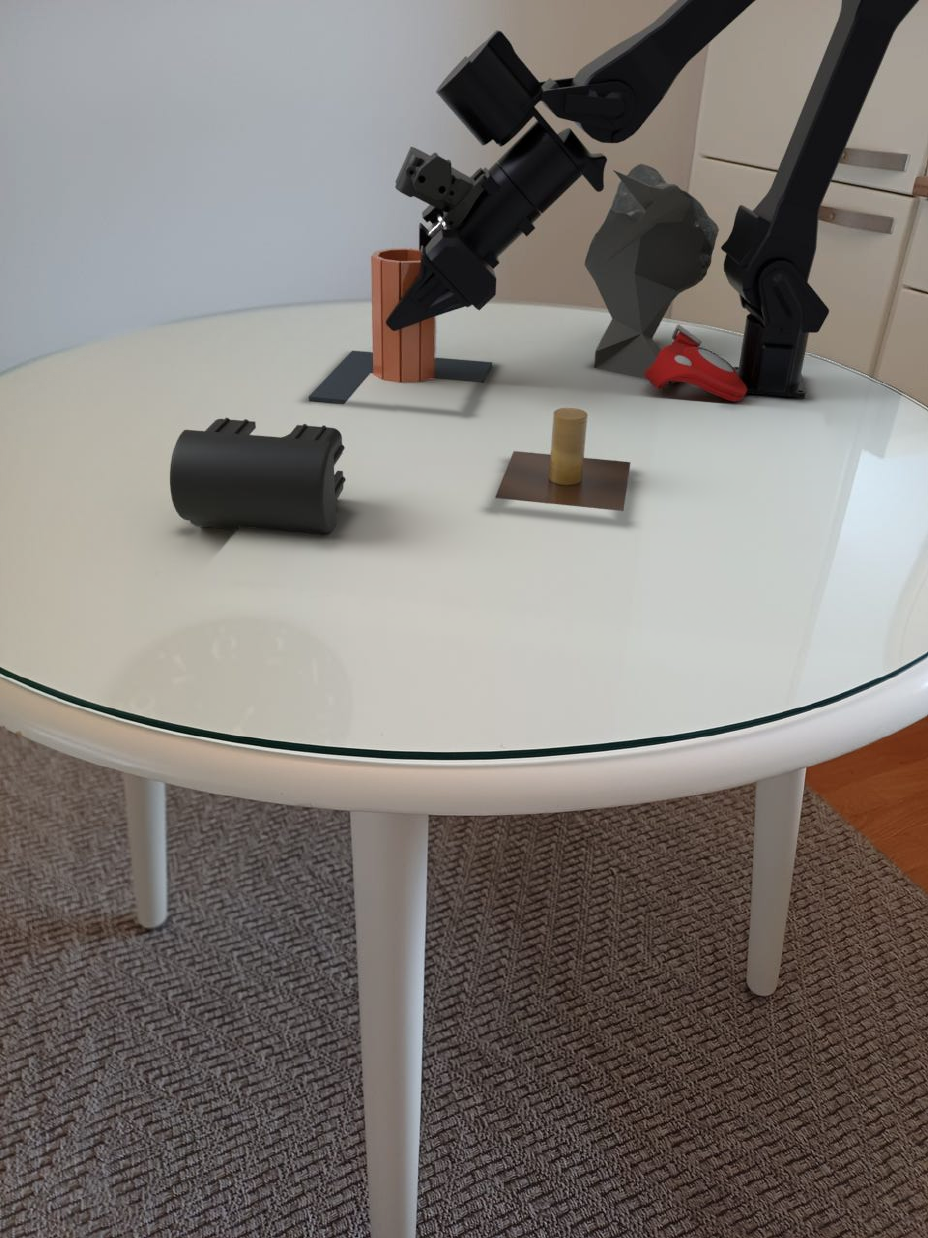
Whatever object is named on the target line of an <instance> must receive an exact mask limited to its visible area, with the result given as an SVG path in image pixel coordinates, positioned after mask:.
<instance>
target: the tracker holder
mask: <svg viewBox="0 0 928 1238" xmlns="http://www.w3.org/2000/svg"><path fill="white" fill-rule="evenodd" d="M671 339H672V340H673V342H672V343H671V344H668V345H666V346H664V347H663V348H662V349H661V351H660V353H659V355H658V356H657V358H656V360H655V362H654V364H653V365H652V366H650V367H649V368H648V369H647V370H646V371H645V373H644V376H645V377H646V378H647V379H646V380H647V381H648V382H649V383H650V384H651V385H652V386H653V387H654V388H655V389H656V390H661V389H663V388H664V387H665V386H666V385H667V384H669V383H668V382H669V381H676V382H682V383H688V384H691V385H694V386H695V387H698V388H700V389H702V390H704V391H706V392H708V393H709V394H712V395H715V396H717V397H719V398H721V399H724V400H727V401H730V402H734V403H737V402H742V401H743V400H744V398H745V395H746V394H747V393H746V392H747V387H746V385H745V383H744V382H743V381H742V380H741V378H740V377H739V376H738V374H737V373H736V371H735V369H734V368H733V367H734V366H732V365H731V363H729V362H728V361H727V360H726V359H724V358H723V357H721V356H720V355H719V354H716V353H715V352H713V351H711V350H709V349H706V348H703V347H700V346H701V344H702V341H703V340H701V339H700V338H699V337H697V336H696V335H694V334H693V333H692V332H690V331H689V330H687V329H686V328H685V327H683V326H682V325H680V324H677V325H676V326H675V328H674V330H673V333H672V335H671Z"/></svg>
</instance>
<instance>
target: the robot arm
mask: <svg viewBox="0 0 928 1238" xmlns="http://www.w3.org/2000/svg"><path fill="white" fill-rule="evenodd" d="M755 2H756V0H676V1H675V2H673V3H672V4H671V5H670V6H669V7H668V8H667V9H666V10H665V11H664V12H663V13H662V14H661V15H659V17H658V18H656V19H655V21H654V22H652V23H650V24H649V25H647V26H646V27H644V28H643V29H642V30H640V31H638V32H636V33H635V34H633V35H632V36H629V37H628V38H626V39H624V40H622V41H621V42H619V43H618V44H616V45H614V46H612V47H611V48H610V49H608V50H606V51H605V52H603V53H602V54H600V55H599V56H597V57H596V58H595V59H593V60H591V61H590V62H589V63H587V64H586V65H584V66H583V67H582V68H580V69H579V70H578V71H577V73H576V74H575V76H573V77H566V78H565V77H564V78H559V79H552V78H548V79H547V80H544V81H539V80H538V79H537V77H536V76H535V75H534V74H533V73H532V71H531V70H530V69H529V67H528V66H527V65H526V64H525V62H523V60H522V59H521V57H519V55H518V54H517V53H516V51H515V49H514V46H513V44H512V43H511V41H510V40H509V39H508V37H507V36H506V35H505V33H503V32H502V31H501V30H495V31H494V32H493V33H492V34H491V35H490V36H489V37H488V38H487V39H486V40H485V41H484V42H482V43H481V45H479V46H478V47H477V48H475V50H474V51H473V52H472V53H471V54H470V55H469V56H464V57H463V58H462V59H461V60H460V62H459V63H457V64H456V66H455V67H453V69H452V70H451V71H450V73H449V74H447V76H446V77H445V78H444V79H443V80H442V82H441V83H440V85H439V86H438V87H437V89H436V91H435V94H437V95H438V96H439V98H440V99H441V100H442V101H443V102H444V104H445V105H446V106H447V107H448V108H449V109H450V111H451V112H453V114H454V115H455V116H456V117H457V118H458V120H459V121H460V122H461V123H462V124H463V125H464V127H465V128H466V129H467V130H468V132H470V133H471V134H472V136H473V137H474V138H475V139H476V140H477V141H478V143H479V144H480V145H481V146H486V145H488V144H489V143H491V142H492V141H493V142H494V143H495V144H496V145H498V146H499V147H500V148H501V147H504V146H505V145H506V144H508V143H509V142H510V141H512V139H514V138H515V137H516V136H517V135H519V133H520V132H521V131H522V130H523V129H524V128H525V126H526V125H527V124H528V123H529V122H530V121H531V120H532V119H533V118H534V119H535V120H536V121H534V123H533V124H532V125H531V126H530V127H529V128H528V129H527V130H526V131H525V132H524V133H523V134H522V135H521V136H520V137H519V139H517V140H516V141H515V142H514V144H512V145H511V146H510V147H509V148H508V149H507V150H506V151H505V152H504V153H503V155H501V156H500V157H499V159H497V161H496V162H495V163H493V165H491V166H490V167H489V168H487V167H483V168H482V167H479V168H478V169H477V170H476V171H475V172H474V173H473V174H472V175H470V176H468V175H467V174H465V173H463V172H462V171H460V170H457V169H456V168H455V167H453V166H452V161H451V160H450V159H445V158H443V157H441V156H440V155H439V154H438V153H437V152H433V153H431V155H430V154H428V153H426V152H425V151H422V150H421V149H418V148H416V147H414V146H410V147H409V149H408V152H407V154H406V157H405V159H404V161H403V163H402V165H401V168H400V170H399V173H398V175H397V177H396V179H395V180H394V181H395V185H394V188H395V189H396V190H397V191H398V192H400V193H401V194H403V195H404V196H407V197H408V198H413V197H414V198H415V199H418V200H420V201H422V202H423V203H426V204H428V206H427V207H426V208H425V209H424V210H423V211H422V212H421V216H422V217H421V218H422V219H423V220H424V222H425V223H429V222H430V223H431V225H430V226H428V228H427V227H426V226H425V225H424V224H423V223H422V222H419V224H418V249H420V250H421V269H420V273H419V275H418V276H417V277H416V279H415V280H414V281H413V283H412V284H411V286H410V287H409V288H408V290H407V291H406V293H405V294H404V295H403V297H402V298H401V300H400V301H399V302H398V304H397V305H396V307H395V308H394V309H393V311H392V312H391V314H390V315H389V317H388V318H387V320H386V325H387V326H388V327H389V328H390V329H391V330H392V331H396V330H399V329H402V328H405V327H407V326H410V325H413V324H415V323H418V322H421V321H424V320H426V319H429V318H432V317H435V316H437V317H438V316H441V315H443V314H447V313H450V312H453V311H455V310H460V309H462V308H465V307H466V308H470V307H472V306H473V307H474V308H475V309H476V310H478V311H481V310H482V309H483V308H484V307H485V306H486V305H487V304H488V303H489V302H490V301H491V300H492V299H493V298H495V296H496V295H497V276H496V273H495V270H494V269H495V268H496V267H497V266H498V265H499V264H500V260H499V257H500V256H501V255H502V254H503V253H504V252H505V251H506V250H508V248H509V247H510V246H511V245H512V244H513V243H514V242H515V241H517V239H518V238H519V237H521V235H522V234H524V236H525V237H528V236H529V235H530V234H531V233H532V232H533V231H535V230H536V226H535V224H534V223H535V222H536V221H537V220H538V219H539V218H540V217H541V216H542V215H543V214H544V213H545V212H546V211H548V210H549V208H551V206H552V205H554V203H555V202H557V200H559V199H560V197H562V195H563V194H565V193H566V192H567V191H568V190H569V189H570V188H571V187H573V185H574V184H575V183H576V182H577V181H578V180H579V179H580V178H581V177H583V178H584V179H585V180H586V181H587V182H588V184H589V185H590V186H591V187H592V188H593V190H594V191H595V192H597V193H601V192H602V191H603V190H604V189H605V182H604V180H605V168H606V165H607V162H608V157H607V156H606V155H605V154H604V153H601V152H598V153H591V152H590V150H589V149H588V148H587V146H585V144H584V143H583V142H582V141H581V140H580V138H579V137H578V136H577V135H576V134H575V132H574V131H573V130H572V128H569V127H568V128H564V129H563V130H561V131H559V132H558V133H557V132H556V130H554V129H553V128H552V126H551V125H550V123H549V122H548V121H547V120H546V118H545V117H544V116H543V115H542V114H541V113H540V111H538V109H537V108H536V106H537V105H538V104H539V103H540V102H541V104H543V106H544V107H545V108H547V110H549V111H550V112H551V114H553V115H554V116H555V117H556V118H558V119H561V120H562V119H563V120H566V121H570V122H573V123H574V124H575V126H577V127H578V128H579V129H580V130H582V131H583V132H584V133H585V134H586V135H588V136H589V137H590V138H591V139H592V140H595V141H597V142H600V143H602V144H619V143H622V142H625V141H626V140H628V139H629V138H631V137H632V136H634V135H635V134H636V133H637V132H638V131H639V130H640V128H641V127H642V126H643V125H644V123H645V122H646V121H647V120H648V118H649V117H650V116H651V114H653V112H654V111H655V110H656V108H657V107H658V106H659V104H660V103H661V102H662V101H663V100H664V98H665V97H666V95H667V93H668V92H669V90H670V89H671V86H672V85H673V83H674V82H675V81H676V79H677V77H678V76H679V74H681V71H682V70H683V69H684V68H685V67H686V65H687V64H688V63H689V62H691V60H692V59H693V58H694V57H695V56H696V55H697V54H699V53H700V52H701V51H702V50H703V49H704V48H705V47H706V46H708V44H710V43H711V42H712V41H713V40H714V39H715V38H716V37H718V36H719V34H721V33H722V32H723V31H724V30H725V29H726V28H727V27H728V26H729V25H730V24H732V23H733V21H735V20H736V19H737V18H738V17H739V16H740V15H741V14H743V12H745V10H747V9H748V8H749V7H750V6H751V5H752V4H753V3H755ZM918 2H920V0H841V3H840V4H841V5H840V11H839V15H838V19H837V22H836V24H835V26H834V29H833V32H832V35H831V37H830V40H829V42H828V44H827V47H826V49H825V51H824V54H823V57H822V59H821V62H820V64H819V66H818V69H817V72H816V74H815V77H814V78H813V81H812V84H811V86H810V88H809V91H808V94H807V96H806V99H805V100H804V101H805V102H804V104H803V106H802V108H801V112H800V114H799V116H798V118H797V121H796V123H795V126H794V129H793V132H792V134H791V136H790V139H789V141H788V144H787V147H786V149H785V150H784V151H785V152H784V154H783V156H782V159H781V161H780V163H779V166H778V169H777V172H776V175H775V177H774V179H773V180H772V181H773V182H772V184H771V186H770V188H769V190H768V191H767V193H766V195H764V197H763V198H762V199H761V200H760V201H759V203H758V204H757V205H756V207H754V209H753V210H752V209H750V208H749V207H746V206H745V205H743V204H740V205H738V208H737V210H736V212H735V216H734V220H733V225H732V229H731V231H730V234H729V236H728V237H727V239H726V240H725V242H724V243H723V244H722V245H721V247H720V249H721V250H722V251H723V253H725V256H724V260H723V272H724V275H725V277H726V279H727V282H728V284H729V285H730V286H731V287H732V289H734V290H735V291H736V292H737V293H738V296H739V301H740V305H741V307H742V308H743V309H744V310H746V311H747V312H749V313H748V314H747V315H746V319H745V325H744V331H743V339H742V343H741V350H740V356H739V363H738V366H732V367H733V368H734V369H735V371H736V373H737V374H738V376H739V377H740V378H741V380H742V381H743V382H744V383H745V385H746V387H747V392H746V394H753V395H754V394H755V395H764V396H766V395H767V396H777V397H788V398H789V397H790V398H801V399H802V398H805V397H806V395H807V390H806V386H805V382H804V378H803V373H802V372H803V367H804V362H805V355H806V352H807V351H806V350H807V347H808V346H807V345H808V340H809V336H810V333H812V334H813V333H815V334H816V333H819V332H820V330H821V329H822V326H823V324H824V323H825V321H826V319H827V317H828V315H829V313H830V308H829V307H828V306H827V305H826V303H825V302H824V301H823V300H822V299H821V298H820V296H819V294H818V293H817V292H816V291H815V290H814V289H813V287H812V286H811V285H810V283H809V279H810V275H811V271H812V268H813V267H812V266H813V263H814V259H815V255H816V251H817V245H818V232H819V231H818V230H819V215H820V209H821V206H822V204H823V201H824V199H825V196H826V194H827V193H828V189H829V187H830V185H831V182H832V180H833V177H834V175H835V173H836V170H837V169H838V166H839V163H840V161H841V159H842V156H843V154H844V151H845V150H846V147H847V146H848V143H849V140H850V138H851V135H852V133H853V130H854V128H855V126H856V124H857V121H858V119H859V117H860V114H861V111H862V109H863V107H864V105H865V103H866V101H867V98H868V96H869V93H870V91H871V89H872V86H873V83H874V81H875V79H876V76H877V75H878V73H879V69H880V67H881V64H882V62H883V60H884V57H885V55H886V53H887V50H888V48H889V45H890V43H891V41H892V39H893V37H894V34H895V32H896V31H897V29H898V27H899V25H900V24H901V23H902V22H903V20H904V19H905V18H906V17H907V16H908V15H909V13H911V11H912V10H913V9H914V8H915V6H916V5H917V4H918Z"/></svg>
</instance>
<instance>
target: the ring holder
mask: <svg viewBox="0 0 928 1238" xmlns="http://www.w3.org/2000/svg"><path fill="white" fill-rule="evenodd" d="M587 425H588V413H587V411H585V410H583V409H580V408H576V407H561V408H557V409H555V410H554V411H553V415H552V430H551V443H550V454H549V453H540V452H539V453H538V452H527V451H519V450H518V451H517V450H514V451H513V452H512V454H511V457H510V458H509V462H508V464H507V467H506V469H505V472H504V473H503V476H502V479H501V481H500V484H499V487H498V489H497V491H496V494H495V496H494V498H495V499H500V500H510V501H511V500H512V501H520V502H528V503H529V502H531V503H539V504H549V505H550V504H551V505H559V506H560V505H561V506H568V507H569V506H570V507H580V508H589V509H601V510H608V511H609V510H610V511H619V512H620V511H621V512H623V511H624V508H625V502H626V495H627V488H628V482H629V474H630V468H631V461H624V460H623V461H621V460H614V459H613V460H611V459H601V458H590V457H585V451H586V450H585V449H586V436H587Z"/></svg>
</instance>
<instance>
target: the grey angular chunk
mask: <svg viewBox="0 0 928 1238" xmlns="http://www.w3.org/2000/svg"><path fill="white" fill-rule="evenodd" d="M612 171H613V172H614V173H615V175H616V176H617V177H618V178H619V180H620V182H619V183H618V186H617V189H616V193H615V195H614V198H613V199H612V203H611V206H610V208H609V210H608V213H607V215H606V217H605V220H604V221H603V223H602V224H601V226H600V227H599V229H598V230H597V232H596V233H595V234H594V236H593V237H592V239H591V241H590V244H589V246H588V250H587V253H586V256H585V259H584V260H585V261H584V267H585V269H586V270H587V272H588V273H589V275H590V276H591V278H592V279H593V281H594V283H595V285H596V287H597V290H598V292H599V294H600V296H601V298H602V300H603V303H604V304H605V307H606V308H607V311H608V313H609V315H610V317H611V320H610V322H609V324H608V326H607V328H606V330H605V332H604V333H603V336H602V338H601V339H600V341H599V343H598V345H597V347H596V349H595V351H594V367H593V368H594V369H598V370H601V371H608V372H612V373H615V374H622V375H627V376H631V377H636V378H641V379H645V380H648V379H647V378H646V377H645V376H644V373H645V371H646V370H647V369H648V368H649V367H650V366H652V365H653V364H654V362H655V360H656V358H657V356H658V355H659V353H660V351H661V350H662V349H661V348H660V347H659V346H658V344H657V343H656V342H655V341H654V339H653V338H654V337H655V334H656V333H657V330H658V329H659V327H660V325H661V323H662V322H663V319H664V317H665V315H666V313H667V312H668V310H669V307H670V305H671V304H672V302H673V301H674V300H675V299H676V298H677V297H678V295H680V294H681V293H682V292H684V291H686V290H689V289H692V288H694V287H695V286H696V285H698V284H699V283H700V282H702V281H703V280H704V278H705V277H706V276H707V274H708V270H709V269H710V267H711V264H712V259H713V257H712V256H713V252H714V250H715V246H716V242H717V238H718V235H719V232H720V229H719V226H718V224H717V223H716V222H715V220H714V219H712V218H711V217H710V216H709V214H708V213H707V211H706V210H705V208H704V206H703V205H702V203H701V202H699V200H698V199H696V197H694V196H693V195H692V194H690V193H689V192H687V190H686V191H685V190H684V189H681V188H680V187H679V186H678V185H676V184H675V183H667V181H666V180H665V178H664V177H663V176H662V174H661V173H660V171H658V170H657V169H656V168H655V167H653V166H651V165H647V164H644V163H640V164H636V166H634V167H633V168H631V169H630V171H629V172H628V173H627V174H624V173H621V172H619V171H616V170H614V169H612ZM674 383H677V381H669V382H668V383H667V384H670V385H674Z"/></svg>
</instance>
